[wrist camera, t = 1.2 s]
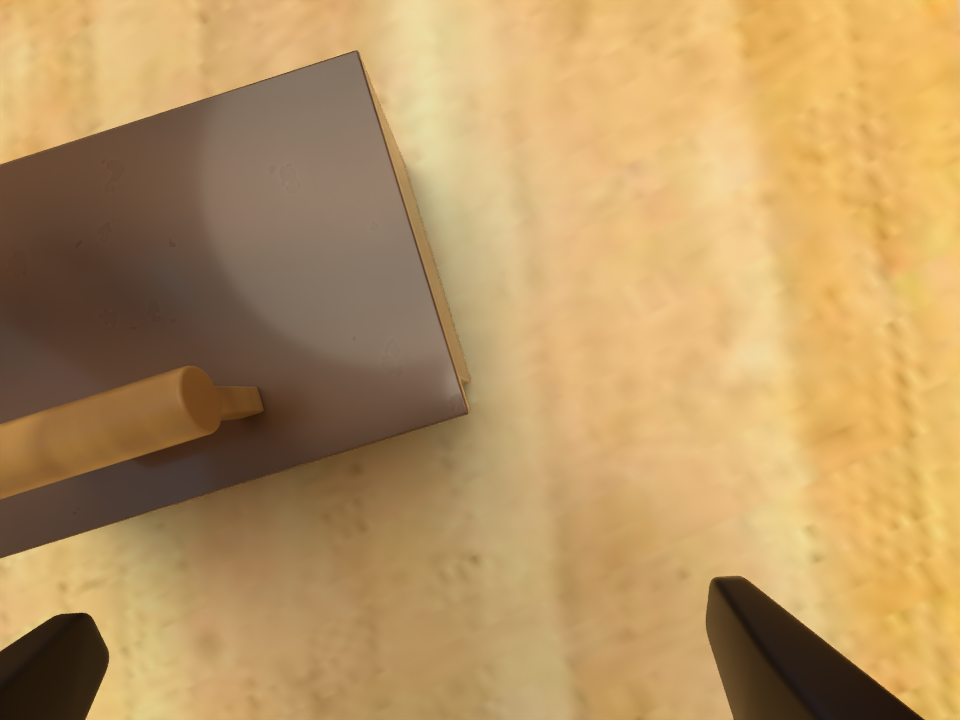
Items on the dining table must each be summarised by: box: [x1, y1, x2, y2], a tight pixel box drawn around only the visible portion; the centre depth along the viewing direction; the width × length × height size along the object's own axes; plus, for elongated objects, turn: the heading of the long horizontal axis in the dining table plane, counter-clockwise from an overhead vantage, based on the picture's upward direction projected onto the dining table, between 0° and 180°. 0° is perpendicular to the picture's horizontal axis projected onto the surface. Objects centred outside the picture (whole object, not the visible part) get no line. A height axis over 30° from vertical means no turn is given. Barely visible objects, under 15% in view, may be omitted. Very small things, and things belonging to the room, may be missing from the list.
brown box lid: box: [0, 50, 470, 558], centre depth 13 cm, size 10×16×5 cm
